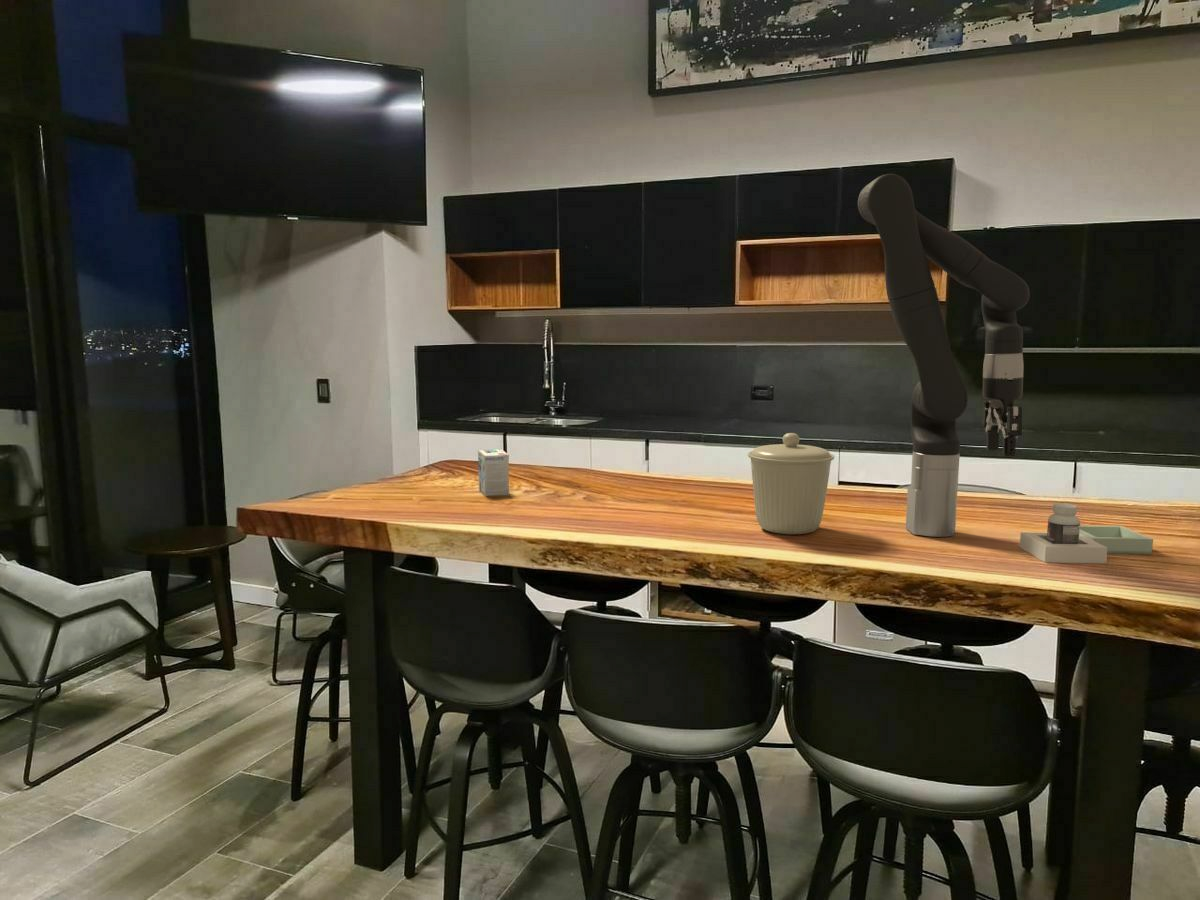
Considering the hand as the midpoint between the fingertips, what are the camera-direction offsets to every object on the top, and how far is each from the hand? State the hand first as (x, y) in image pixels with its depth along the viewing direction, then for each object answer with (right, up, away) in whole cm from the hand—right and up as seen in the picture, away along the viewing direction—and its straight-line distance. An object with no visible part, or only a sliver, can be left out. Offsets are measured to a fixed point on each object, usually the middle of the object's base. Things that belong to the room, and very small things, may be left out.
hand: (1000, 453), depth 177 cm
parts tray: (+17, -19, -9) cm, 27 cm away
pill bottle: (+5, -20, -15) cm, 25 cm away
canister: (-43, -17, +6) cm, 47 cm away
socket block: (+5, -20, -15) cm, 25 cm away
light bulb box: (-112, -11, +50) cm, 123 cm away
